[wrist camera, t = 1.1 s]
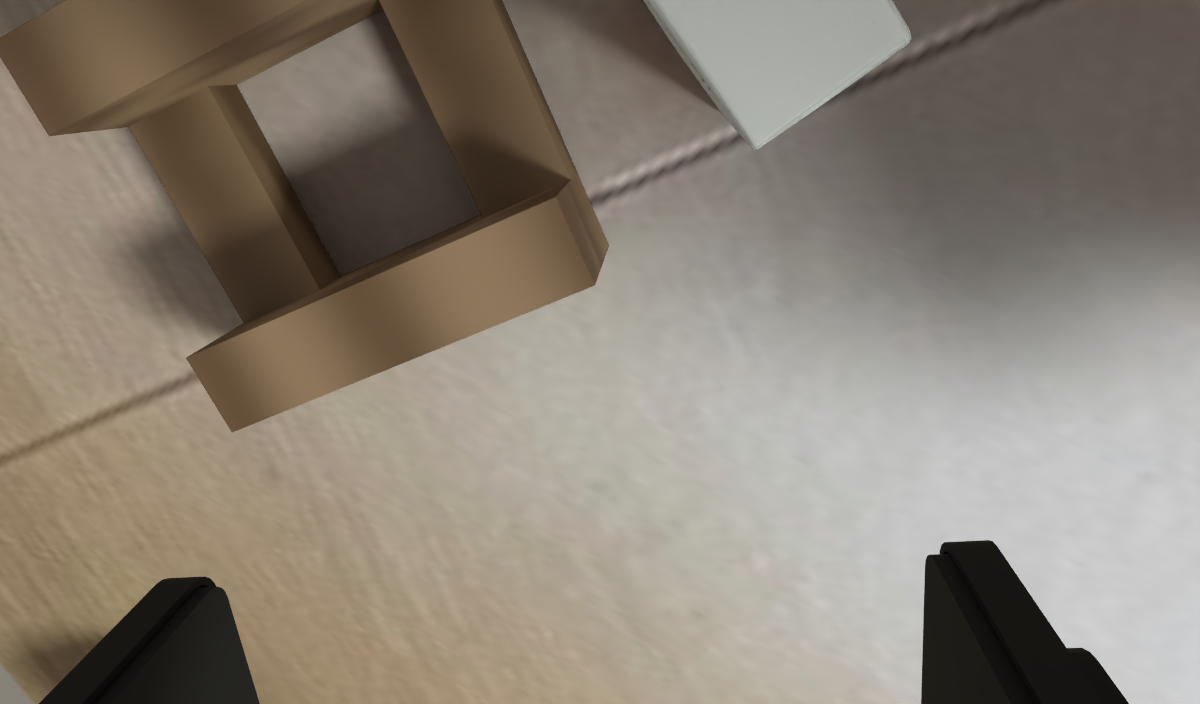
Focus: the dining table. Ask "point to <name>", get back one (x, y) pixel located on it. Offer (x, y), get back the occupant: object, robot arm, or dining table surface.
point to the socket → (269, 204)
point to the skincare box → (779, 53)
